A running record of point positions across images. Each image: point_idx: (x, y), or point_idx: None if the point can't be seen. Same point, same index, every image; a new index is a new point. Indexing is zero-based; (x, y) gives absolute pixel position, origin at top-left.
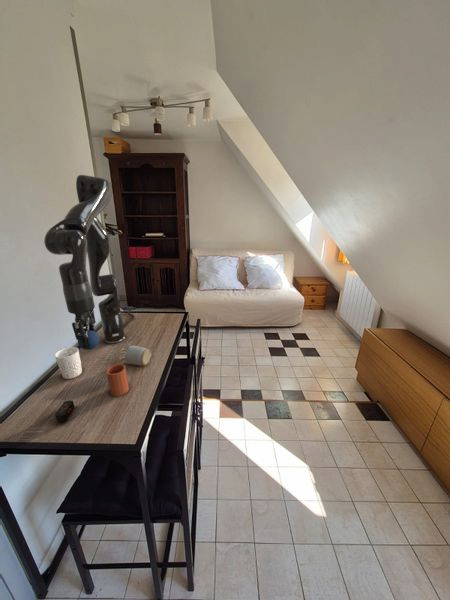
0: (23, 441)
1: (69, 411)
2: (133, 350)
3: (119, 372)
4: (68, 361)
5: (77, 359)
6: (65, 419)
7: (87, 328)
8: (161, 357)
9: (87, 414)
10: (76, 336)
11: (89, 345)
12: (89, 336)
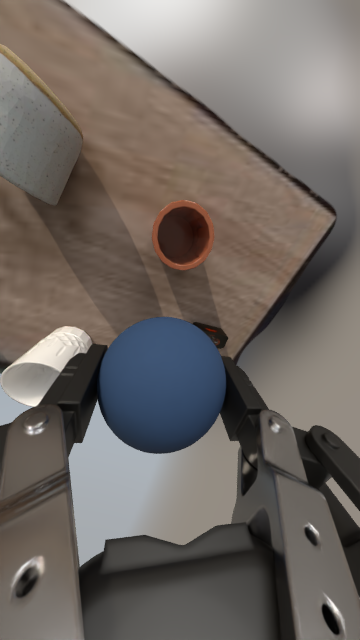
0: None
1: (212, 329)
2: (17, 144)
3: (210, 226)
4: None
5: (59, 350)
6: (223, 331)
7: (325, 514)
8: (7, 16)
9: (218, 300)
10: (332, 497)
11: (232, 363)
12: (219, 398)
